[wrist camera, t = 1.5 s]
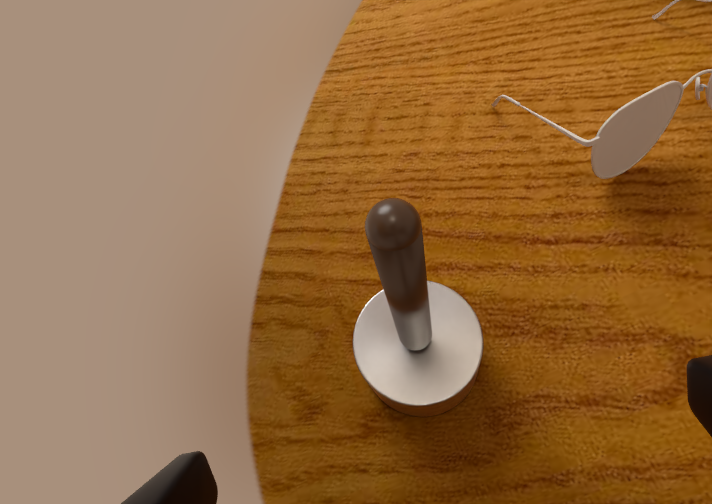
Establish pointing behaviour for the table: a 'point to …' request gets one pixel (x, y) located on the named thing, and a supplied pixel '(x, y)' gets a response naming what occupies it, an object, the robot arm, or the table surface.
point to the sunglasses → (633, 124)
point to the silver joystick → (413, 322)
